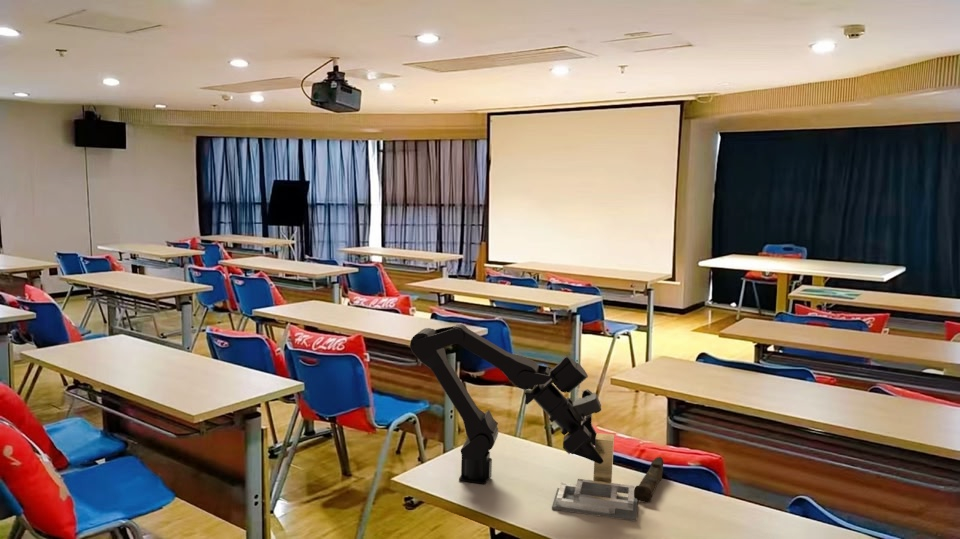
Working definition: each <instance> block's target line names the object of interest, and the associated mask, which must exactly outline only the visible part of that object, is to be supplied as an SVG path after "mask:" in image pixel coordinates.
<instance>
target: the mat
mask: <svg viewBox="0 0 960 539" xmlns="http://www.w3.org/2000/svg"><path fill="white" fill-rule="evenodd" d="M559 488H560V487H557V489H556V492H555V495H554V498H553V502H552V506H551V509H552V510H555V511H562V512H568V513H577V514H584V515H590V516H591V515H592V516H597V517H605V518H611V519H619V520H627V521H631V522H633V521H634V522H637V519H638V515H637V514H638V501H637V498H634V505H633V510H626V509H618V508H615V515H613V514H606V513H599V512H592V511H585V510H577V509H570V508H563V507H556V498H557V495H558V492H559ZM583 495H585V494H583ZM591 496H592V495H591ZM598 497H600V496H598ZM573 498H574V493H570V492H565V496H564V499H571V500H573ZM606 498H607V497H606ZM616 499H621V500H628V496H622V495H617V498H616Z"/></svg>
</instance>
